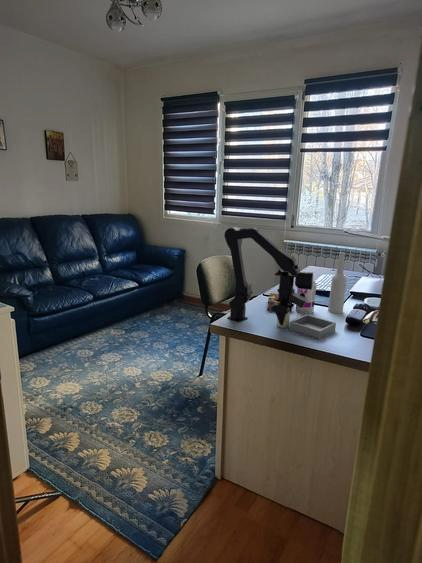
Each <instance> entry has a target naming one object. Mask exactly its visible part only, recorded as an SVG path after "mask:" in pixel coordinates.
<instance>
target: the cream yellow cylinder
mask: <svg viewBox="0 0 422 563" xmlns="http://www.w3.org/2000/svg"><path fill="white" fill-rule="evenodd" d="M276 318H277V317H276ZM290 319H291V312H288V313H287V314H286V316H285V319H284V323H283V325H280V323H279V320H278V318H277V319H276V326H277V327H278V328H281V329H286V328H288V329H289V326H290V322H291V321H290Z"/></svg>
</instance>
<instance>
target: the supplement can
mask: <svg viewBox="0 0 422 563" xmlns="http://www.w3.org/2000/svg"><path fill="white" fill-rule="evenodd" d="M296 288H297V287H296ZM316 290H317V283H316V280H315V279H313V287H312V290H309V289H301V288H297V291H296V293H297V294H300V293H302V292H303V293H305V294H306V298H307V301H306V302H305V304H304V306H303V308H300V307H299V306H297V305H295V310H296V311H297V312H298V313H301V314H312V313H313V312H314V311H315V310H314V309H315V302H316V301H315V299H316Z"/></svg>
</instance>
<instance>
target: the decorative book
mask: <svg viewBox="0 0 422 563" xmlns="http://www.w3.org/2000/svg"><path fill="white" fill-rule="evenodd" d="M277 298H278V293H274V292H273V293H272V292H270V293H269V296H268V300H267V309H266V310H267V311H269V312H272V311H271V310H272V306H273V305H274V304H275V303H276V302H277ZM277 303H280V302H277ZM292 309H293V307H292V308H290V311H289V312H290V313H292Z"/></svg>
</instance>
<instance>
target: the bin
mask: <svg viewBox="0 0 422 563" xmlns="http://www.w3.org/2000/svg"><path fill="white" fill-rule="evenodd" d="M336 325H337V323H336V322H335V321H330V320H328V319H324V318H320V317H317V316H314V315H310V314H305V315H303V316H301V317H297V318H295V319H293V320H291V321H289V327H288V329H289V331H291V332H295V333H296V334H300V335H302V336H303V335H304V336H307V337H309V338H312V339H315V340H321V339H323V338H325V337H327V336H329V335H331V334H332V333H334V332H336V329H337V328H336Z"/></svg>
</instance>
